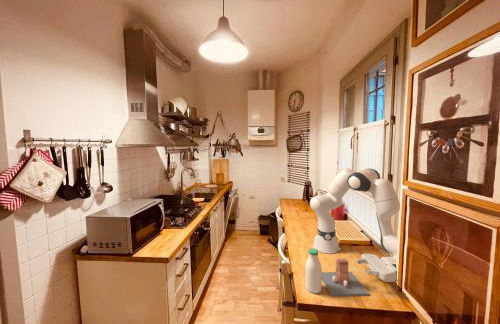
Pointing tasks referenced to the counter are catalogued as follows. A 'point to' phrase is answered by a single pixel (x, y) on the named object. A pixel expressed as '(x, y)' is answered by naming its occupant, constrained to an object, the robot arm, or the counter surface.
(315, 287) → the milk bottle
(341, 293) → the peg plate
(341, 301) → the counter surface
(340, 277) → the terracotta post
